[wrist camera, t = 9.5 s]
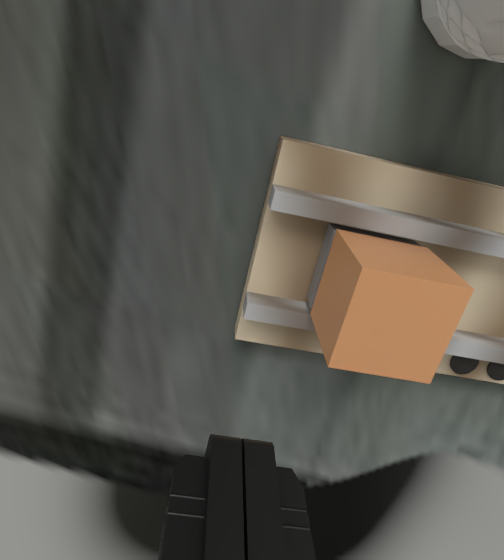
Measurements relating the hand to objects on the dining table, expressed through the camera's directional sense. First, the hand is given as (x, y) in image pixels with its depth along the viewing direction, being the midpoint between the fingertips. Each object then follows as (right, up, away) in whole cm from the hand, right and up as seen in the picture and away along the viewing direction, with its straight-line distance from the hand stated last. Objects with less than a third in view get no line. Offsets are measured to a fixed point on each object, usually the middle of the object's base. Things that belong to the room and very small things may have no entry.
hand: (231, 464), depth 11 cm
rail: (+16, +4, +18) cm, 24 cm away
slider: (+7, +5, +15) cm, 17 cm away
